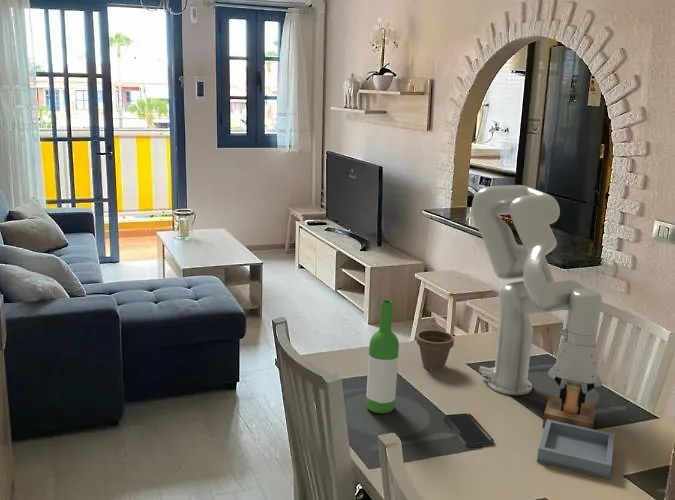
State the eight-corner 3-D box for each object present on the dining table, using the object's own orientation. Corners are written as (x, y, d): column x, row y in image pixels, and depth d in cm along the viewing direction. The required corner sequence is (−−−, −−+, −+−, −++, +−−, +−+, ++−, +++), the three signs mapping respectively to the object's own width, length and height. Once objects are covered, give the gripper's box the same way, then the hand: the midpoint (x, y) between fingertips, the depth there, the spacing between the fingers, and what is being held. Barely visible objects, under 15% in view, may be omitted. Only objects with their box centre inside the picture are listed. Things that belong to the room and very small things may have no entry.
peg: (561, 424, 180) (566, 385, 177) (562, 418, 183) (567, 380, 181) (575, 427, 179) (580, 388, 176) (576, 421, 182) (582, 382, 179)
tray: (536, 461, 161) (538, 448, 161) (545, 431, 176) (547, 419, 175) (609, 479, 155) (611, 465, 155) (612, 446, 170) (614, 433, 169)
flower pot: (406, 363, 214) (408, 333, 212) (432, 356, 221) (435, 326, 218) (432, 377, 205) (435, 345, 203) (459, 369, 212) (462, 338, 209)
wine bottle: (373, 398, 189) (379, 295, 182) (399, 406, 186) (406, 300, 179) (360, 410, 183) (366, 302, 175) (387, 417, 179) (394, 308, 172)
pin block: (542, 427, 178) (544, 413, 177) (548, 408, 189) (549, 394, 188) (591, 438, 173) (593, 423, 172) (594, 418, 184) (596, 404, 183)
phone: (470, 413, 182) (495, 441, 168) (469, 417, 183) (495, 446, 168) (442, 415, 180) (465, 444, 166) (441, 419, 181) (465, 448, 167)
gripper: (545, 336, 175) (537, 402, 179) (614, 348, 169) (604, 416, 173) (548, 327, 182) (540, 390, 186) (615, 338, 175) (605, 404, 180)
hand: (571, 402), depth 180 cm, fingers closed on peg, 3 cm apart
